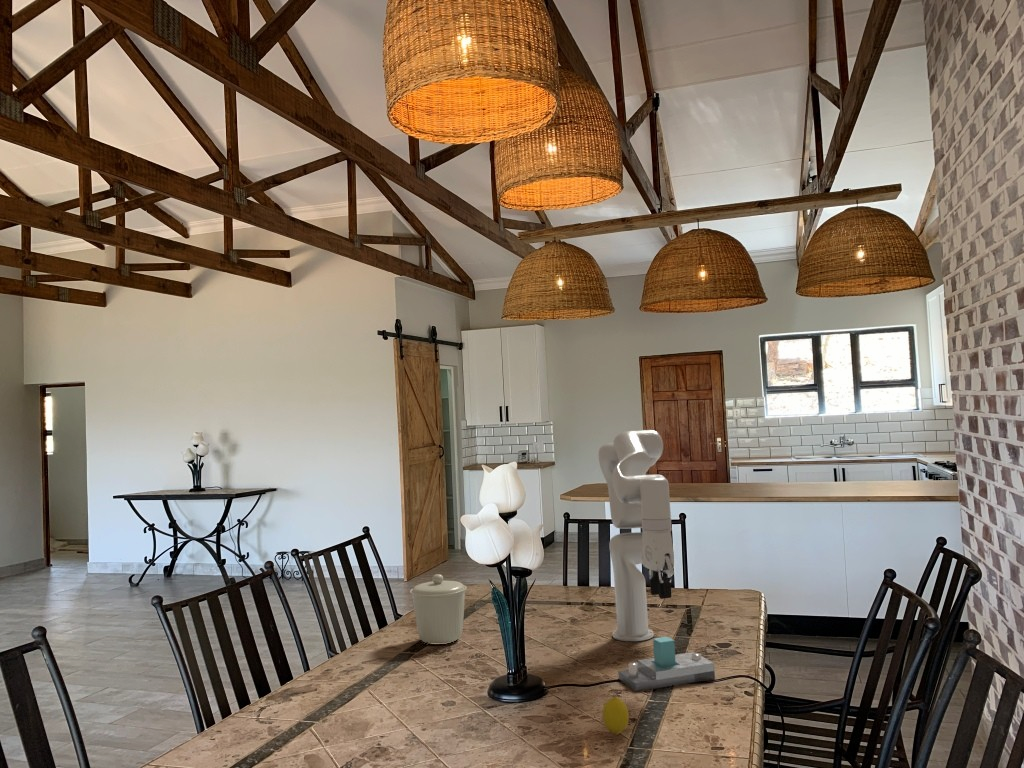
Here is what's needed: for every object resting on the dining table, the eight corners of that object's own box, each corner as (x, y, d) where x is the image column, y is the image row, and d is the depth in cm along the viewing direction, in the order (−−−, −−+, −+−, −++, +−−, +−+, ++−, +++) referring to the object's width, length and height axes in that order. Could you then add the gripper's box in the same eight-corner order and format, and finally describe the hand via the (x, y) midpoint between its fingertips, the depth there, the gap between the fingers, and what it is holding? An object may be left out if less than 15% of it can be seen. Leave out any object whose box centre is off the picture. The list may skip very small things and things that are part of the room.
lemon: (601, 730, 173) (599, 693, 174) (626, 728, 174) (624, 691, 174) (606, 741, 168) (604, 702, 168) (632, 738, 168) (630, 700, 169)
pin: (655, 677, 206) (653, 638, 207) (669, 675, 208) (666, 636, 208) (662, 682, 203) (660, 642, 203) (676, 679, 204) (674, 640, 204)
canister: (473, 632, 260) (469, 567, 261) (464, 648, 243) (460, 579, 243) (419, 634, 262) (415, 569, 263) (406, 650, 244) (403, 581, 245)
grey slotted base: (618, 678, 207) (617, 659, 207) (694, 667, 213) (693, 648, 213) (635, 691, 197) (634, 671, 197) (714, 678, 203) (713, 658, 203)
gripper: (629, 522, 214) (634, 591, 213) (658, 530, 198) (662, 604, 197) (655, 520, 216) (659, 588, 215) (685, 527, 200) (689, 601, 199)
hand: (661, 595), depth 206 cm, fingers open, 4 cm apart
